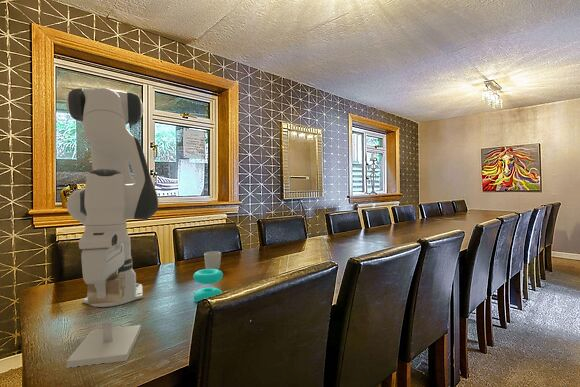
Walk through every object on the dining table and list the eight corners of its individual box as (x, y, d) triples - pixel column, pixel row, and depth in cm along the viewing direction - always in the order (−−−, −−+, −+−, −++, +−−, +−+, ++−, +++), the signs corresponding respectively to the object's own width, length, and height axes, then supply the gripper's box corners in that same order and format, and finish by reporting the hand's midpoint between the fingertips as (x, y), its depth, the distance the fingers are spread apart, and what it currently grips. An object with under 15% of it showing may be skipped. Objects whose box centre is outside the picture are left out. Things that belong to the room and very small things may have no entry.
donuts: (189, 275, 107) (197, 267, 117) (190, 305, 107) (197, 295, 117) (220, 275, 107) (224, 267, 117) (220, 304, 108) (225, 294, 118)
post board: (91, 335, 86) (91, 312, 85) (140, 330, 89) (140, 308, 88) (66, 368, 70) (65, 340, 70) (126, 360, 73) (126, 334, 73)
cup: (203, 266, 158) (203, 250, 158) (219, 265, 161) (219, 249, 161) (204, 272, 148) (204, 255, 148) (222, 271, 151) (222, 254, 150)
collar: (97, 295, 81) (97, 276, 81) (125, 293, 83) (125, 274, 83) (88, 304, 75) (87, 283, 75) (118, 301, 76) (118, 280, 76)
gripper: (105, 231, 88) (105, 281, 88) (75, 242, 68) (76, 308, 68) (130, 230, 89) (131, 280, 90) (108, 241, 70) (109, 305, 70)
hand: (107, 292), depth 79 cm, fingers closed on collar, 6 cm apart
